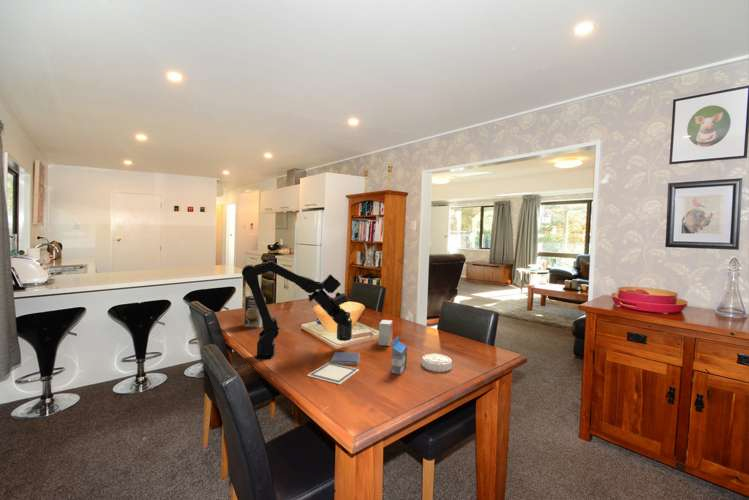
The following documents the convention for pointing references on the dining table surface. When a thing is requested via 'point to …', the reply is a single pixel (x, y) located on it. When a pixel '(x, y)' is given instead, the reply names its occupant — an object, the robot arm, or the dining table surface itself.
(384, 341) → the small box
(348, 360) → the pad
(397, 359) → the label tape cartridge
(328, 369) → the marked card
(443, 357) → the mooncake
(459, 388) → the dining table surface
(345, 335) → the supplement bottle
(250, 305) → the coffee box
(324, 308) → the robot arm
